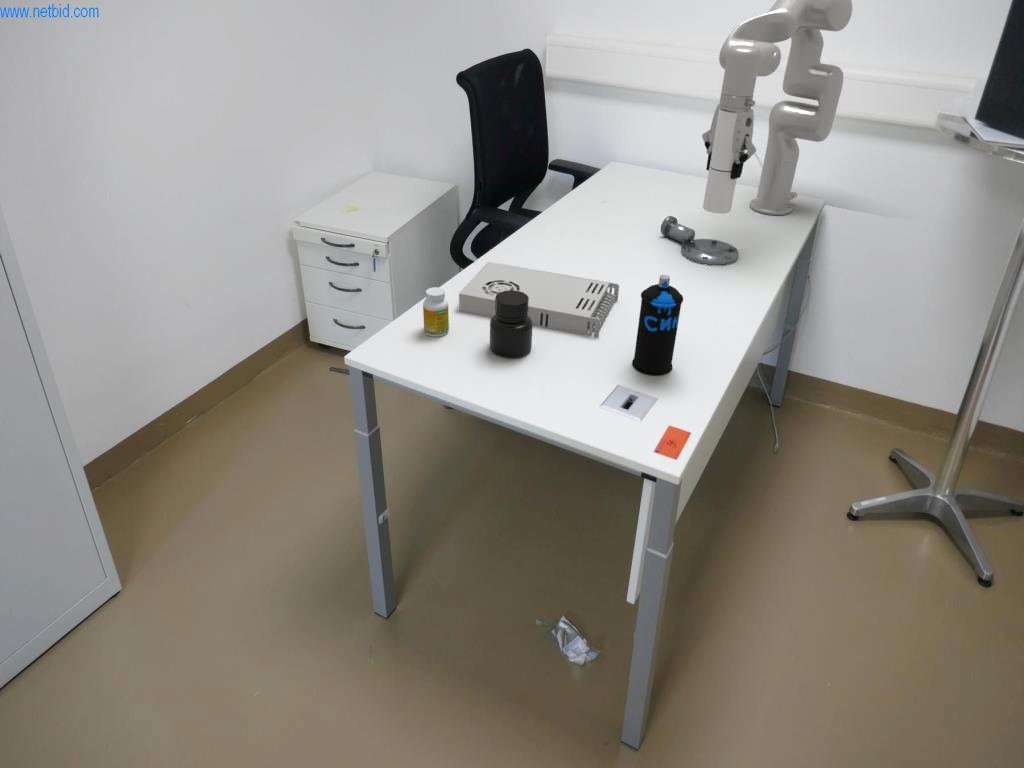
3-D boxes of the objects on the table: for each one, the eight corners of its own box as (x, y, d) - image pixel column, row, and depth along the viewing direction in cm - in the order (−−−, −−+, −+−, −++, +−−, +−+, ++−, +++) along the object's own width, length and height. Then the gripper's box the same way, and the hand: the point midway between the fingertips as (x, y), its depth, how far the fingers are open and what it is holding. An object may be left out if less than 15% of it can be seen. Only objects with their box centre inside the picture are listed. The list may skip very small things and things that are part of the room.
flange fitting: (749, 257, 209) (753, 237, 206) (711, 270, 202) (715, 250, 199) (684, 229, 225) (687, 210, 222) (647, 240, 217) (650, 221, 214)
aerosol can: (628, 355, 165) (639, 268, 154) (666, 354, 165) (680, 267, 154) (636, 376, 158) (648, 286, 147) (676, 375, 158) (691, 285, 148)
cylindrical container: (728, 204, 206) (747, 106, 193) (732, 214, 200) (751, 113, 187) (701, 202, 207) (717, 105, 193) (704, 212, 201) (721, 112, 187)
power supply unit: (598, 339, 171) (600, 319, 169) (458, 313, 180) (458, 293, 177) (617, 302, 186) (619, 283, 184) (487, 280, 195) (488, 261, 192)
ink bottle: (537, 341, 169) (539, 291, 162) (528, 362, 161) (530, 310, 155) (493, 335, 170) (494, 285, 164) (482, 355, 163) (483, 304, 157)
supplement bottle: (439, 340, 168) (437, 299, 163) (419, 333, 170) (417, 292, 165) (453, 329, 172) (453, 289, 167) (433, 323, 174) (432, 283, 169)
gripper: (775, 107, 185) (760, 180, 195) (718, 92, 197) (706, 162, 206) (754, 111, 181) (740, 186, 191) (697, 95, 193) (687, 167, 202)
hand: (723, 173), depth 199 cm, fingers closed on cylindrical container, 7 cm apart
